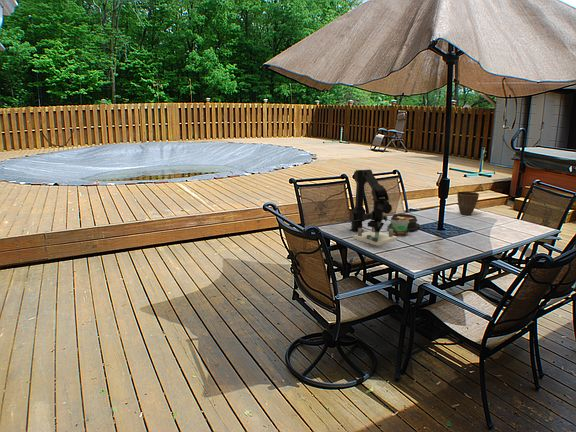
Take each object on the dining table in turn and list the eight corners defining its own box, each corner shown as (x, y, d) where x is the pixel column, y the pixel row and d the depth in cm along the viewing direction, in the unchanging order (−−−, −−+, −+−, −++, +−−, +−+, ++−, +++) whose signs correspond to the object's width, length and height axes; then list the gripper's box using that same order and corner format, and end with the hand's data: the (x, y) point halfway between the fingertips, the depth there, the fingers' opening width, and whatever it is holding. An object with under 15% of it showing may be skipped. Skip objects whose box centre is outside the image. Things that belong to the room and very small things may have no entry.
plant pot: (480, 216, 314) (483, 195, 310) (461, 217, 312) (464, 195, 308) (469, 211, 329) (472, 191, 325) (451, 212, 327) (453, 191, 323)
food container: (394, 237, 264) (395, 221, 262) (389, 234, 270) (390, 219, 267) (412, 235, 267) (413, 220, 265) (407, 233, 273) (408, 217, 271)
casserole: (404, 235, 269) (405, 222, 267) (380, 229, 282) (380, 216, 280) (426, 228, 284) (427, 215, 282) (402, 222, 298) (403, 210, 296)
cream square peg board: (353, 238, 262) (353, 228, 260) (372, 233, 273) (373, 223, 271) (377, 245, 248) (378, 235, 246) (396, 239, 259) (397, 229, 258)
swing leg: (365, 237, 256) (365, 229, 255) (368, 236, 257) (369, 228, 256) (376, 241, 249) (377, 233, 248) (379, 240, 251) (380, 232, 250)
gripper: (370, 204, 261) (369, 228, 265) (359, 211, 245) (358, 237, 249) (388, 206, 255) (386, 231, 260) (378, 213, 240) (377, 240, 244)
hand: (376, 235), depth 253 cm, fingers closed
